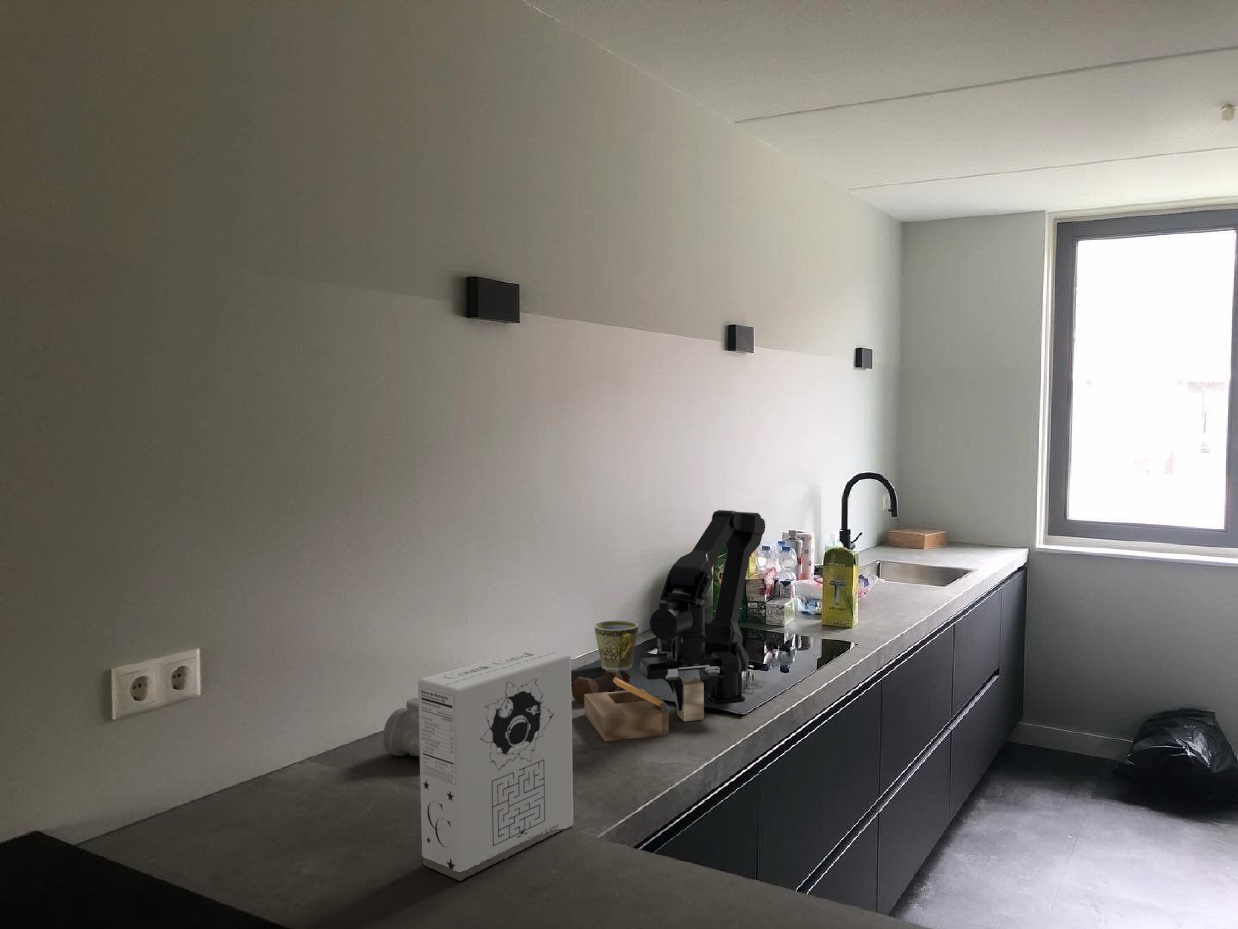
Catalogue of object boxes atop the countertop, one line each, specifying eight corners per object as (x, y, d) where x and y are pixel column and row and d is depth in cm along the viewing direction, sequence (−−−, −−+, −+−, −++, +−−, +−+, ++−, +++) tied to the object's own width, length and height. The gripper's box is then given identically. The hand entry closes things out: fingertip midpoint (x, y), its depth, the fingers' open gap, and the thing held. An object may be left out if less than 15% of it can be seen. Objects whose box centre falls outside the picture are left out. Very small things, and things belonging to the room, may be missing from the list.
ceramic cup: (588, 665, 227) (587, 623, 226) (627, 660, 231) (626, 618, 231) (611, 679, 215) (610, 634, 215) (652, 674, 219) (651, 629, 219)
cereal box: (536, 812, 146) (533, 646, 144) (574, 825, 141) (571, 654, 139) (421, 866, 129) (416, 679, 128) (459, 883, 124) (455, 689, 123)
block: (643, 708, 195) (643, 682, 194) (668, 734, 179) (668, 705, 179) (584, 714, 191) (584, 687, 191) (605, 741, 176) (604, 711, 176)
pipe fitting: (376, 757, 168) (384, 698, 167) (407, 746, 175) (414, 690, 174) (431, 777, 162) (439, 717, 162) (461, 765, 169) (468, 707, 169)
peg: (696, 713, 191) (696, 677, 191) (703, 719, 187) (703, 683, 187) (677, 715, 190) (676, 679, 190) (683, 721, 186) (683, 685, 186)
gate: (659, 705, 184) (662, 699, 184) (664, 710, 181) (667, 704, 181) (612, 681, 181) (615, 676, 181) (616, 686, 178) (619, 680, 178)
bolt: (627, 695, 210) (583, 711, 198) (611, 680, 213) (567, 695, 201) (639, 673, 209) (595, 688, 196) (622, 659, 211) (578, 672, 199)
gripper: (720, 617, 198) (720, 693, 199) (631, 623, 193) (632, 701, 194) (741, 629, 187) (741, 709, 188) (647, 636, 182) (648, 718, 183)
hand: (690, 709), depth 189 cm, fingers closed on peg, 4 cm apart
